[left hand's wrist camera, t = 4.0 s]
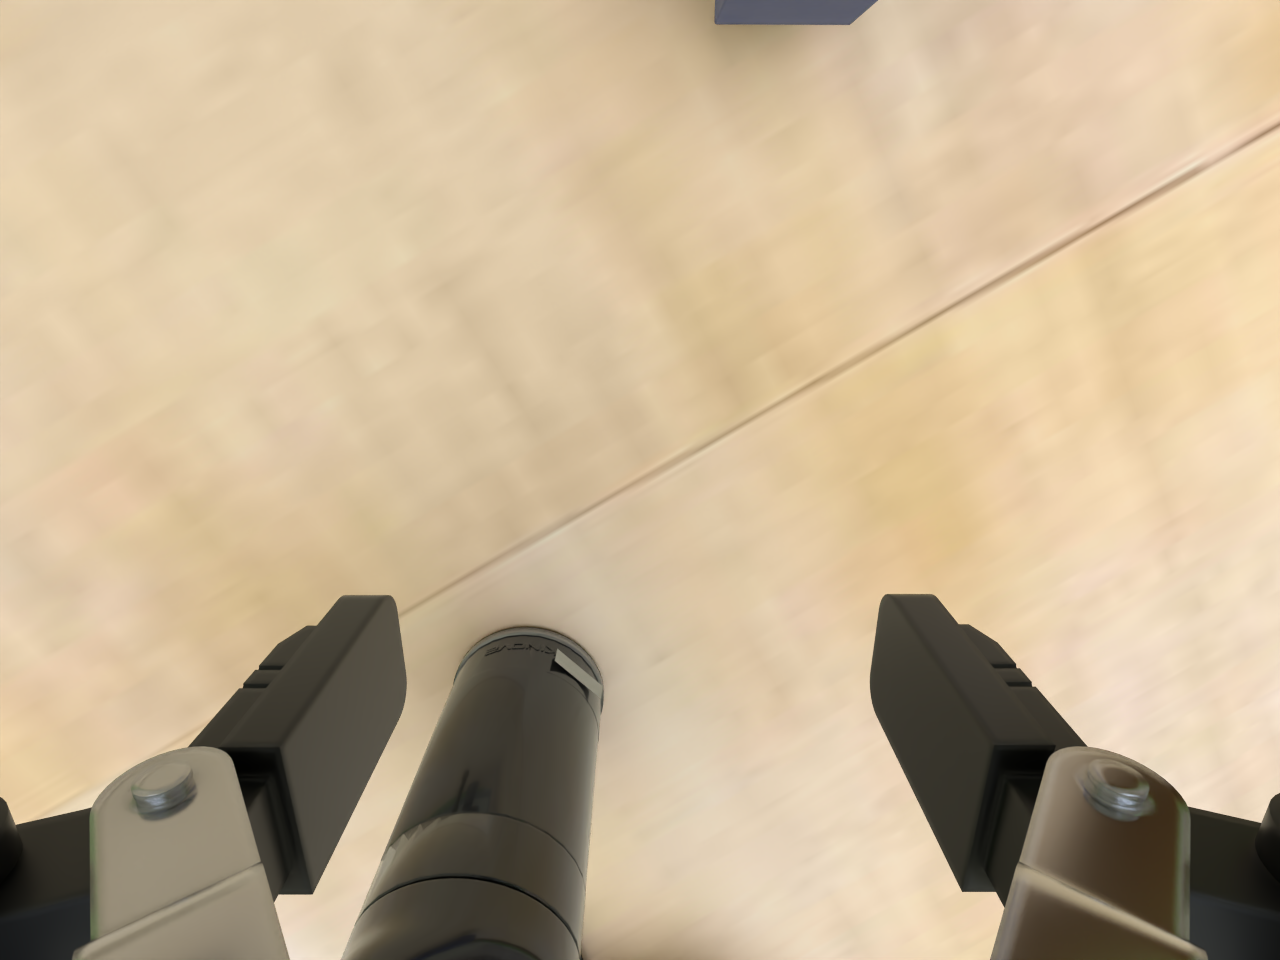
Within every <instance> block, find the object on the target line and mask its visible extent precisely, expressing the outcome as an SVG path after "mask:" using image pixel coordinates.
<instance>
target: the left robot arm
mask: <svg viewBox="0 0 1280 960" xmlns="http://www.w3.org/2000/svg"><path fill="white" fill-rule="evenodd" d="M406 685H407V681H406V670H405V663H404V656H403V648H402V641H401V634H400V627H399V619H398V612H397V606H396V603H395V601H394V599H393V597H391V596H389V595H344V596H342V597H340V598H339V599H338V601H337V602H336V603H335V604H334V605H333V607H332V608H331V609H330V610H329V612H328V613H327V614H326V615H325V616H324V618H323V619H322V620H321V621H320V623H319V624H318V625H317V626H306V627H304V628H303V629H301V630H300V631H298V632H296V633H295V634H293V635H292V636H290V637H288V638H287V639H285V640H284V641H282V642H281V643H279V644H278V645H277V646H276V647H275V648H274V649H273V650H272V652H271V653H270V654H269V655H268V656H267V657H266V658H265V660H264V661H263V662H262V663H261V664H260V665H259V670H255V671H254V672H253V673H252V674H251V676H250V677H249V678H248V679H247V680H246V681H245V682H244V684H243V688H239V689H238V690H237V692H236V693H235V694H234V695H233V696H232V697H231V698H230V700H229V701H228V702H227V703H226V704H225V705H224V706H223V708H222V709H221V710H220V711H219V712H218V713H217V714H216V716H215V717H214V718H213V719H212V720H211V721H210V723H209V724H208V725H207V726H206V727H205V728H204V729H203V731H202V732H201V733H200V734H199V735H198V736H197V737H196V739H195V740H194V741H193V742H192V743H191V744H190V745H189V747H188V748H182V749H177V750H173V751H170V752H166V753H163V754H160V755H158V756H155V757H153V758H150V759H148V760H146V761H144V762H142V763H140V764H138V765H136V766H134V767H133V768H131V769H129V770H128V771H126V772H125V773H123V774H122V775H121V776H119V777H118V778H116V779H115V780H114V781H113V782H112V783H111V784H109V785H108V786H107V787H106V788H105V789H104V791H103V792H102V793H101V794H100V795H99V796H98V798H97V799H96V801H95V802H94V804H93V807H92V808H88V809H84V810H80V811H75V812H71V813H67V814H62V815H58V816H53V817H49V818H44V819H40V820H36V821H31V822H27V823H22V824H18V825H15V823H14V820H13V818H12V815H11V813H10V810H9V808H8V805H7V803H6V802H5V801H4V800H3V798H1V797H0V960H290V958H289V955H288V951H287V948H286V944H285V941H284V937H283V934H282V930H281V926H280V923H279V919H278V916H277V912H276V909H275V905H274V902H275V900H276V898H277V896H278V894H313V892H314V890H315V888H316V886H317V884H318V882H319V880H320V878H321V876H322V874H323V872H324V870H325V868H326V866H327V864H328V862H329V860H330V858H331V856H332V854H333V852H334V850H335V848H336V846H337V844H338V842H339V840H340V838H341V836H342V834H343V832H344V830H345V828H346V826H347V823H348V821H349V819H350V817H351V815H352V813H353V811H354V809H355V807H356V805H357V803H358V801H359V799H360V797H361V795H362V793H363V791H364V789H365V787H366V785H367V783H368V781H369V779H370V777H371V775H372V773H373V771H374V769H375V767H376V765H377V763H378V761H379V759H380V757H381V754H382V752H383V750H384V748H385V746H386V744H387V742H388V740H389V738H390V736H391V734H392V732H393V730H394V728H395V726H396V724H397V722H398V720H399V718H400V716H401V713H402V710H403V707H404V703H405V697H406ZM870 692H871V699H872V704H873V708H874V711H875V713H876V716H877V718H878V720H879V722H880V724H881V726H882V728H883V730H884V732H885V734H886V736H887V738H888V740H889V742H890V744H891V747H892V749H893V751H894V753H895V755H896V757H897V759H898V761H899V763H900V765H901V767H902V769H903V771H904V773H905V775H906V777H907V779H908V781H909V784H910V786H911V788H912V790H913V792H914V794H915V796H916V798H917V800H918V802H919V804H920V806H921V808H922V810H923V812H924V814H925V816H926V818H927V821H928V823H929V825H930V827H931V829H932V831H933V833H934V835H935V837H936V839H937V841H938V843H939V845H940V847H941V849H942V851H943V853H944V855H945V857H946V860H947V862H948V864H949V866H950V868H951V870H952V872H953V874H954V876H955V878H956V880H957V882H958V884H959V886H960V888H961V890H962V892H996V893H997V895H998V896H999V898H1000V900H1001V902H1002V904H1003V906H1004V908H1005V909H1004V912H1003V916H1002V919H1001V923H1000V926H999V930H998V933H997V937H996V941H995V944H994V948H993V951H992V955H991V958H990V960H1280V793H1279V794H1277V795H1275V796H1274V797H1273V798H1272V799H1271V801H1270V803H1269V806H1268V808H1267V811H1266V813H1265V816H1264V818H1263V821H1262V823H1258V822H1254V821H1249V820H1245V819H1241V818H1236V817H1232V816H1227V815H1223V814H1218V813H1214V812H1209V811H1205V810H1201V809H1196V808H1192V807H1188V806H1187V804H1186V802H1185V801H1184V799H1183V798H1182V796H1181V795H1180V794H1179V793H1178V792H1177V791H1176V789H1175V788H1174V787H1173V786H1172V785H1171V784H1169V783H1168V782H1167V781H1166V780H1165V779H1164V778H1162V777H1161V776H1159V775H1158V774H1157V773H1155V772H1154V771H1152V770H1151V769H1149V768H1147V767H1146V766H1144V765H1142V764H1140V763H1138V762H1136V761H1134V760H1132V759H1130V758H1127V757H1125V756H1122V755H1120V754H1117V753H1114V752H1110V751H1107V750H1103V749H1098V748H1092V747H1087V745H1086V744H1085V743H1084V742H1083V741H1082V740H1081V739H1080V737H1079V736H1078V735H1077V734H1076V733H1075V732H1074V730H1073V729H1072V728H1071V727H1070V726H1069V725H1068V724H1067V722H1066V721H1065V720H1064V719H1063V718H1062V717H1061V715H1060V714H1059V713H1058V712H1057V711H1056V710H1055V708H1054V707H1053V706H1052V705H1051V704H1050V703H1049V702H1048V700H1047V699H1046V698H1045V697H1044V696H1043V695H1042V693H1041V692H1040V691H1039V690H1038V689H1037V688H1036V687H1032V682H1031V681H1030V680H1029V678H1028V677H1027V676H1026V675H1025V674H1024V673H1023V672H1022V670H1021V669H1020V668H1016V663H1015V662H1014V661H1013V660H1012V659H1011V658H1010V657H1009V655H1008V654H1007V653H1006V652H1005V651H1004V650H1003V648H1002V647H1001V646H1000V645H999V644H998V643H997V642H996V641H994V640H992V639H991V638H989V637H988V636H986V635H985V634H983V633H981V632H980V631H978V630H977V629H975V628H974V627H972V626H970V625H969V624H958V623H957V622H956V621H955V619H954V618H953V617H952V616H951V614H950V613H949V612H948V611H947V609H946V608H945V607H944V606H943V604H942V603H941V602H940V601H939V599H938V598H937V597H936V596H934V595H932V594H886V595H885V596H884V597H883V598H882V600H881V603H880V607H879V613H878V621H877V628H876V635H875V643H874V650H873V657H872V665H871V672H870ZM603 698H604V689H603V682H602V678H601V675H600V672H599V670H598V668H597V666H596V664H595V663H594V661H593V660H592V658H591V657H590V656H589V655H588V654H587V652H586V651H585V650H583V649H582V648H581V647H580V646H579V645H577V644H576V643H575V642H573V641H572V640H570V639H568V638H566V637H564V636H562V635H560V634H557V633H555V632H552V631H548V630H544V629H538V628H513V629H507V630H503V631H500V632H497V633H494V634H492V635H490V636H488V637H486V638H484V639H482V640H481V641H480V642H478V643H477V644H476V645H474V646H473V647H472V648H471V649H470V650H469V651H468V653H467V654H466V655H465V657H464V658H463V660H462V662H461V664H460V666H459V668H458V670H457V673H456V676H455V679H454V684H453V687H452V690H451V692H450V694H449V697H448V699H447V702H446V704H445V706H444V708H443V710H442V713H441V715H440V718H439V720H438V723H437V725H436V728H435V730H434V732H433V735H432V737H431V740H430V742H429V745H428V747H427V749H426V752H425V754H424V757H423V759H422V762H421V764H420V766H419V769H418V771H417V774H416V776H415V779H414V781H413V783H412V786H411V788H410V791H409V793H408V796H407V798H406V801H405V803H404V805H403V808H402V810H401V813H400V815H399V818H398V820H397V822H396V825H395V827H394V830H393V832H392V835H391V837H390V839H389V842H388V844H387V847H386V849H385V852H384V854H383V856H382V859H381V862H380V865H379V867H378V870H377V872H376V874H375V877H374V879H373V882H372V884H371V887H370V889H369V891H368V894H367V896H366V899H365V901H364V904H363V906H362V909H361V911H360V913H359V916H358V918H357V921H356V923H355V926H354V928H353V931H352V933H351V936H350V938H349V941H348V943H347V946H346V948H345V951H344V953H343V956H342V958H341V960H583V959H582V956H581V944H582V932H583V919H584V907H585V895H586V893H585V891H586V879H587V867H588V855H589V843H590V831H591V820H592V808H593V796H594V784H595V772H596V760H597V748H598V740H599V727H600V716H601V712H602V707H603Z"/></svg>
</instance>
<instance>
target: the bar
mask: <svg viewBox="0 0 1280 960" xmlns="http://www.w3.org/2000/svg"><path fill="white" fill-rule="evenodd" d="M877 1H878V0H715V24H767V25H850V24H851V23H852V22H854V21H855V20H856V19H857V18H858V17H859V16H860V15H862V14H863V13H864V12H865V11H866V10H867V9H869V8H870V7H871V6H872V5H873V4H874V3H875V2H877Z"/></svg>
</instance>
